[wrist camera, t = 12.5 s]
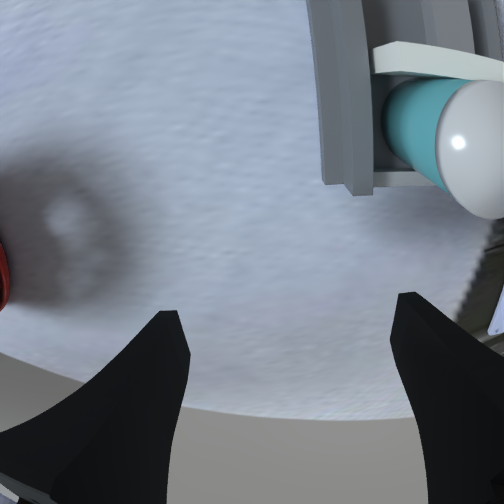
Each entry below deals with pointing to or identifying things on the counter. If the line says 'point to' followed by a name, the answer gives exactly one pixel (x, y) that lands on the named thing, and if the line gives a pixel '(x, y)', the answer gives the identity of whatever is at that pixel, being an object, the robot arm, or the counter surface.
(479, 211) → the jar
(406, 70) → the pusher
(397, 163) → the lane
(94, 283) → the counter surface
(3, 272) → the plant pot
